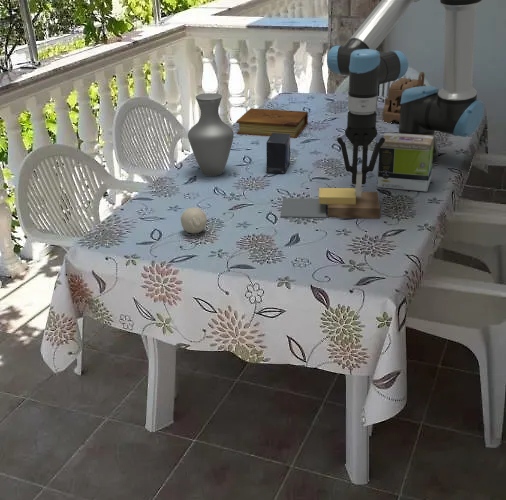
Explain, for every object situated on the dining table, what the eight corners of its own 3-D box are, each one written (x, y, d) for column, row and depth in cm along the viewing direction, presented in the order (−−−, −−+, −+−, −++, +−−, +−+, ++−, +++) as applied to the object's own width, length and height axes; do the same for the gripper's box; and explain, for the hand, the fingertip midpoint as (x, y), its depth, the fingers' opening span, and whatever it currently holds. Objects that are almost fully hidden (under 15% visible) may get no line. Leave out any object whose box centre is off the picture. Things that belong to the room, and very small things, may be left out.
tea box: (430, 181, 212) (435, 134, 206) (427, 193, 204) (431, 144, 197) (381, 176, 217) (384, 130, 210) (376, 187, 208) (379, 140, 202)
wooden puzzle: (398, 109, 286) (401, 63, 278) (432, 113, 279) (437, 67, 271) (377, 122, 270) (380, 74, 262) (413, 127, 263) (417, 78, 255)
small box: (285, 174, 220) (285, 142, 216) (265, 173, 222) (265, 142, 217) (291, 163, 230) (291, 132, 225) (271, 162, 231) (271, 132, 226)
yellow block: (354, 194, 196) (354, 188, 195) (355, 204, 189) (355, 197, 189) (319, 194, 197) (319, 187, 196) (318, 203, 190) (319, 197, 189)
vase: (218, 183, 214) (214, 104, 203) (181, 176, 221) (175, 98, 210) (243, 169, 225) (241, 93, 214) (207, 162, 232) (203, 88, 221)
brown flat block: (376, 201, 199) (377, 191, 197) (379, 218, 188) (380, 208, 187) (327, 200, 200) (328, 191, 199) (327, 217, 189) (328, 207, 188)
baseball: (187, 240, 179) (185, 216, 176) (178, 229, 185) (176, 206, 182) (211, 235, 181) (210, 211, 178) (202, 224, 187) (200, 201, 184)
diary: (307, 125, 270) (308, 111, 268) (296, 140, 254) (296, 124, 252) (251, 121, 276) (251, 107, 274) (236, 135, 260) (236, 120, 258)
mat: (326, 200, 200) (326, 198, 200) (326, 218, 189) (326, 217, 189) (283, 199, 202) (283, 198, 201) (280, 217, 190) (280, 216, 190)
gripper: (337, 114, 178) (334, 199, 189) (388, 115, 177) (382, 200, 188) (336, 107, 185) (334, 189, 196) (386, 107, 184) (380, 190, 194)
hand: (358, 194), depth 192 cm, fingers closed
